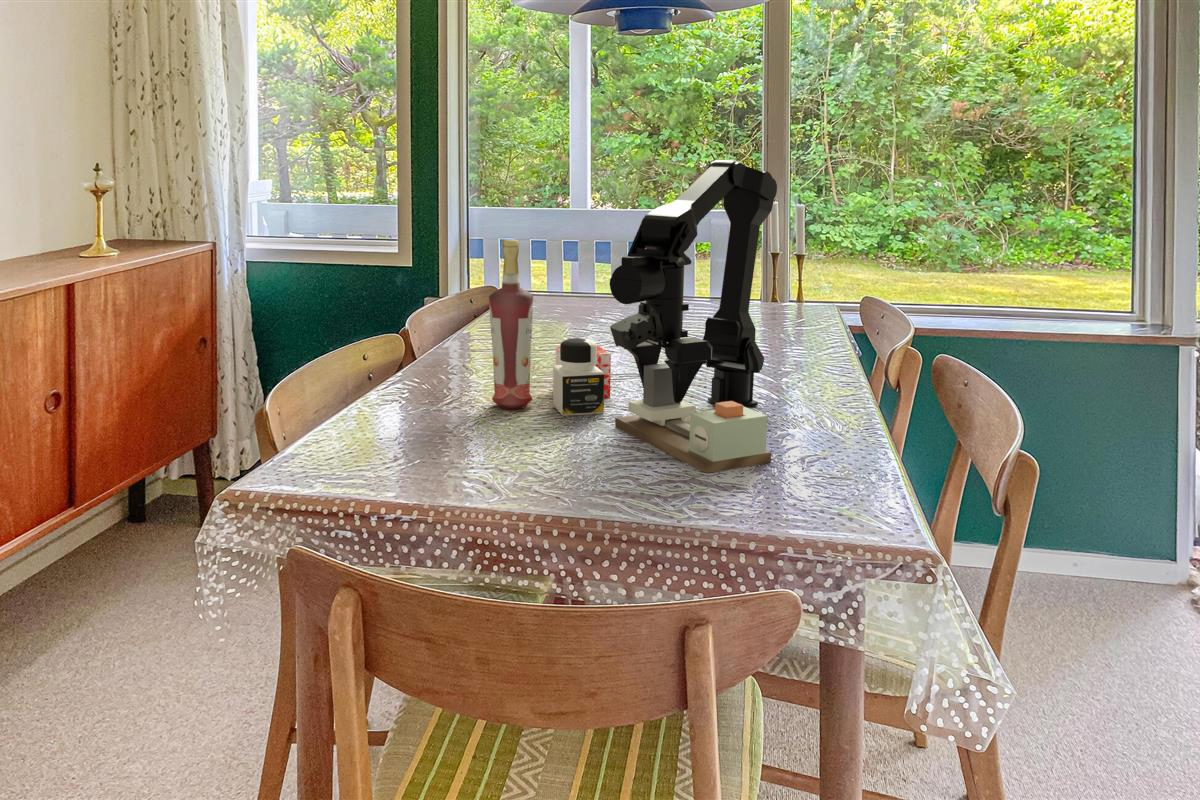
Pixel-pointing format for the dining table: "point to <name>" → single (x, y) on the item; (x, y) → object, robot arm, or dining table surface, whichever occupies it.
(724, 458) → the cabinet
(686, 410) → the carriage
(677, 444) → the rail track
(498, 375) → the liquor
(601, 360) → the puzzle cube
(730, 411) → the button
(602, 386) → the medicine bottle
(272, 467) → the dining table surface
